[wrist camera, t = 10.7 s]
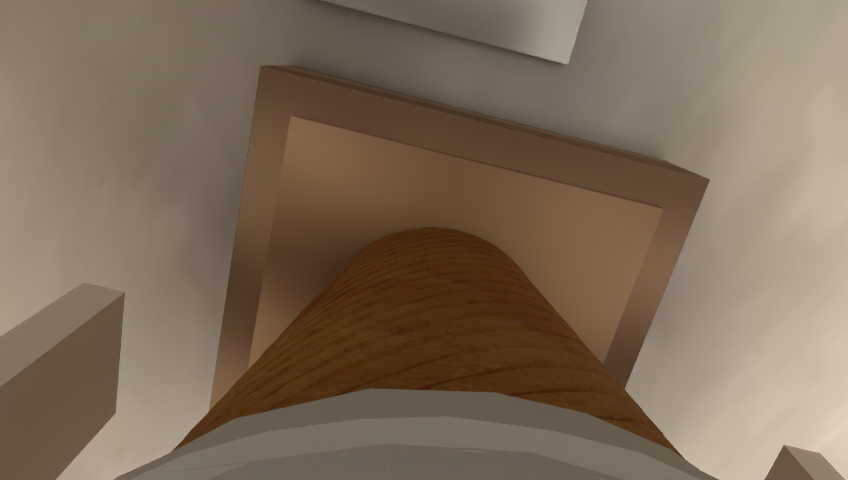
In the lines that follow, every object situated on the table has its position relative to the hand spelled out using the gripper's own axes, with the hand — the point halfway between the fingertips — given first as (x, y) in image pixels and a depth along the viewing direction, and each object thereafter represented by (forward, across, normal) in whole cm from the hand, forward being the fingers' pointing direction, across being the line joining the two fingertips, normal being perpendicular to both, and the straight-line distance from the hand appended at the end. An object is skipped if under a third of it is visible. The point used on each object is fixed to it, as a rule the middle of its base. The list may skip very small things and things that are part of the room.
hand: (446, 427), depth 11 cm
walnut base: (+8, 0, -1) cm, 8 cm away
